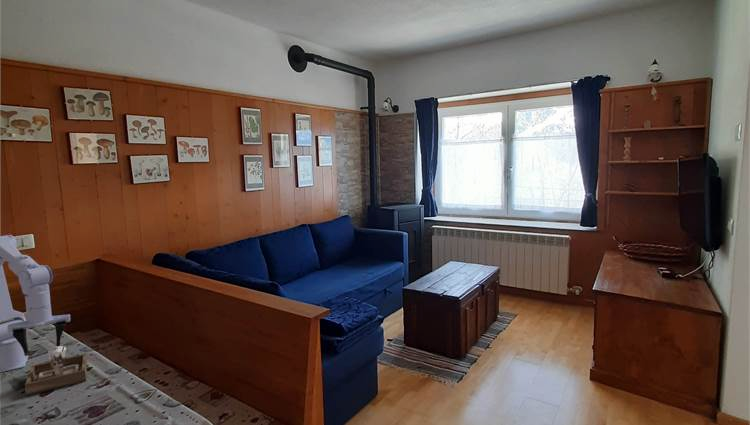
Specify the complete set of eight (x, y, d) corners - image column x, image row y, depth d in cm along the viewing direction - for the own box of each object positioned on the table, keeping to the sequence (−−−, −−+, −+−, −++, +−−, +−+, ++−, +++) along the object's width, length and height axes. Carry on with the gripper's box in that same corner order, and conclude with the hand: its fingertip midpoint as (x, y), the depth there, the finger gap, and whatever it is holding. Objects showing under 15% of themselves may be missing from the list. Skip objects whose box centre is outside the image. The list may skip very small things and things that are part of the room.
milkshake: (59, 379, 121) (56, 348, 120) (46, 377, 122) (43, 346, 121) (74, 372, 125) (71, 342, 124) (61, 370, 126) (58, 340, 125)
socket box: (32, 376, 124) (31, 365, 124) (87, 363, 132) (86, 353, 132) (25, 396, 113) (24, 384, 112) (85, 381, 121) (85, 370, 120)
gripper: (3, 315, 112) (8, 360, 113) (67, 304, 120) (71, 347, 122) (8, 308, 117) (12, 351, 119) (69, 299, 126) (72, 339, 127)
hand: (42, 348), depth 121 cm, fingers open, 7 cm apart
